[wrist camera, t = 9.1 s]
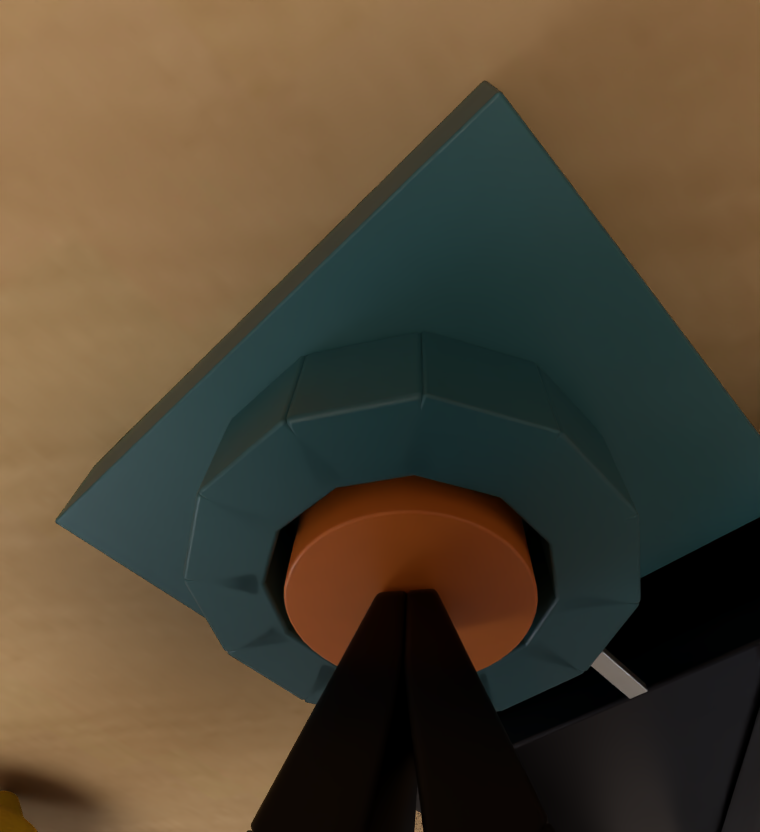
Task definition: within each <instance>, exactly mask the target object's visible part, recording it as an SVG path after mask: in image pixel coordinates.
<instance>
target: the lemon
mask: <svg viewBox="0 0 760 832" xmlns="http://www.w3.org/2000/svg"><path fill="white" fill-rule="evenodd" d="M0 832H38V831H37V830H36V829H35V827H34V826H33V825H32V824H31V823H29V822H28V821H27V820H26V819H25V818H24V817H23V814H22V810H21V806H20V803H19V799H18V797H17V795H15V794H14V793H12V792H9V791H0Z"/></svg>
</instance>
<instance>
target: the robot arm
mask: <svg viewBox="0 0 760 832" xmlns="http://www.w3.org/2000/svg"><path fill="white" fill-rule="evenodd" d="M417 785H418V792H419V800H420V808H421V816H422V824H423V831H424V832H555V830H554V828H553V826H552V825H551V824H550V823H548V816H547V814H546V812H545V810H544V808H543V806H542V804H541V802H540V800H539V798H538V796H537V794H536V792H535V790H534V788H533V786H532V784H531V782H530V780H529V778H528V776H527V773H526V771H525V769H524V767H523V765H522V763H521V761H520V759H519V757H518V755H517V753H516V751H515V749H514V747H513V745H512V743H511V741H510V739H509V737H508V735H507V733H506V731H505V729H504V727H503V725H502V723H501V720H500V718H499V716H498V714H497V712H496V710H495V708H494V706H493V704H492V702H491V700H490V698H489V696H488V694H487V692H486V690H485V688H484V686H483V684H482V682H481V680H480V678H479V676H478V674H477V672H476V670H475V668H474V665H473V663H472V661H471V659H470V657H469V655H468V653H467V651H466V649H465V647H464V645H463V643H462V641H461V639H460V637H459V635H458V633H457V631H456V629H455V627H454V625H453V623H452V621H451V619H450V617H449V615H448V613H447V610H446V608H445V606H444V604H443V602H442V600H441V598H440V596H439V594H438V592H437V591H436V590H435V589H418V590H410V591H409V592H408V593H407V594H406V593H405V592H404V591H389V592H380V593H378V594H377V595H376V596H375V598H374V599H373V601H372V603H371V605H370V607H369V609H368V610H367V612H366V614H365V616H364V618H363V620H362V621H361V623H360V625H359V627H358V629H357V631H356V632H355V634H354V636H353V638H352V640H351V642H350V643H349V645H348V647H347V649H346V651H345V653H344V654H343V656H342V658H341V660H340V662H339V664H338V665H337V667H336V669H335V671H334V673H333V675H332V676H331V678H330V680H329V682H328V684H327V686H326V687H325V689H324V691H323V693H322V695H321V697H320V698H319V700H318V702H317V704H316V706H315V708H314V709H313V711H312V713H311V715H310V717H309V719H308V720H307V722H306V724H305V726H304V728H303V730H302V731H301V733H300V735H299V737H298V739H297V741H296V742H295V744H294V746H293V748H292V750H291V752H290V753H289V755H288V757H287V759H286V761H285V763H284V764H283V766H282V768H281V770H280V772H279V774H278V775H277V777H276V779H275V781H274V783H273V785H272V786H271V788H270V790H269V792H268V794H267V796H266V797H265V799H264V801H263V803H262V805H261V807H260V808H259V810H258V812H257V814H256V816H255V818H254V819H253V821H252V823H251V829H252V831H253V832H414V828H415V814H416V799H417ZM252 831H251V830H249V831H247V832H252Z"/></svg>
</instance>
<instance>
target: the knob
mask: <svg viewBox="0 0 760 832" xmlns="http://www.w3.org/2000/svg"><path fill="white" fill-rule="evenodd" d="M721 832H760V707H759V711H758V714H757V717H756V720H755V724H754V727H753V730H752V733H751V737H750V740H749V743H748V746H747V750H746V753H745V756H744V759H743V763H742V766H741V769H740V772H739V776H738V779H737V782H736V786H735V789H734V792H733V795H732V799H731V802H730V805H729V808H728V812H727V815H726V818H725V821H724V825H723V828H722V831H721Z"/></svg>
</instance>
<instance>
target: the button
mask: <svg viewBox="0 0 760 832" xmlns="http://www.w3.org/2000/svg"><path fill="white" fill-rule="evenodd" d="M418 589H435V590H436V591H437V592H438V594H439V596H440V598H441V600H442V602H443V604H444V606H445V608H446V610H447V613H448V615H449V617H450V619H451V621H452V623H453V625H454V627H455V629H456V631H457V633H458V635H459V637H460V639H461V641H462V643H463V645H464V647H465V649H466V651H467V653H468V655H469V657H470V659H471V661H472V663H473V665H474V668H475V670H476V672H477V671H479V670H482V669H484V668H486V667H488V666H490V665H492V664H494V663H495V662H497V661H499V660H500V659H502V658H503V657H504V656H506V655H507V654H508V653H510V652H511V651H512V650H513V649H514V648H515V647H516V646H517V645H518V644H519V643H520V642H521V641H522V639H523V638H524V637H525V635H526V634H527V632H528V630H529V629H530V627H531V625H532V623H533V620H534V617H535V614H536V610H537V603H538V593H537V585H536V581H535V576H534V572H533V567H532V563H531V558H530V554H529V549H528V545H527V540H526V536H525V531H524V527H523V522H522V518H521V516H520V515H518V514H517V513H516V512H515V511H514V510H513V509H512V508H511V507H510V506H509V505H508V504H507V503H506V502H505V501H503V500H502V499H501V498H500V497H496V496H492V495H488V494H484V493H481V492H477V491H473V490H469V489H465V488H461V487H458V486H454V485H450V484H446V483H442V482H438V481H435V480H431V479H427V478H423V477H419V476H415V475H413V476H407V477H400V478H394V479H388V480H382V481H376V482H370V483H364V484H357V485H351V486H345V487H339V488H335V489H334V490H333V491H331V492H330V493H329V494H327V495H326V496H325V497H323V498H322V499H321V500H319V501H318V502H317V503H315V504H314V505H312V506H311V507H310V508H308V509H307V510H306V511H304V512H303V513H302V514H300V518H299V522H298V527H297V531H296V535H295V540H294V544H293V548H292V553H291V557H290V562H289V566H288V570H287V575H286V580H285V585H284V602H285V607H286V611H287V614H288V617H289V619H290V622H291V624H292V625H293V627H294V629H295V631H296V632H297V634H298V635H299V636H300V637H301V639H302V640H303V641H304V642H305V643H306V644H307V645H308V646H309V647H310V648H311V649H312V650H313V651H315V652H316V653H317V654H319V655H320V656H321V657H323V658H324V659H326V660H328V661H329V662H331V663H333V664H334V665H336V666H337V665H338V664H339V662H340V660H341V658H342V656H343V654H344V653H345V651H346V649H347V647H348V645H349V643H350V642H351V640H352V638H353V636H354V634H355V632H356V631H357V629H358V627H359V625H360V623H361V621H362V620H363V618H364V616H365V614H366V612H367V610H368V609H369V607H370V605H371V603H372V601H373V599H374V598H375V596H376V595H377V594H378V593H380V592H389V591H404V592H405V593H406V594H407V593H408V592H409V591H410V590H418Z"/></svg>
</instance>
